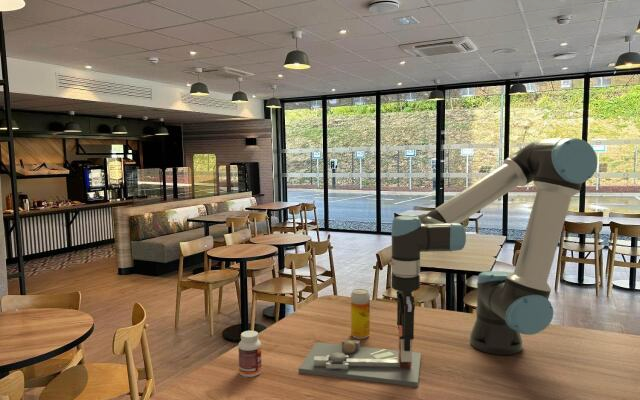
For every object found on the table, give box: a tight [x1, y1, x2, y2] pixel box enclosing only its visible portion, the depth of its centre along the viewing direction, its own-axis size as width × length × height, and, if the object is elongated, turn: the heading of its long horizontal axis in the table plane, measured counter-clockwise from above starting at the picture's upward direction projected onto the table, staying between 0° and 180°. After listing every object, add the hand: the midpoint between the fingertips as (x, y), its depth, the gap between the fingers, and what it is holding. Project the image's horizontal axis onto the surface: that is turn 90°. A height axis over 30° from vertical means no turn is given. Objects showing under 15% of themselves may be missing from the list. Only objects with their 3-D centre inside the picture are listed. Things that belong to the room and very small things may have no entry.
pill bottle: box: [237, 330, 263, 378], centre depth 129 cm, size 6×6×11 cm
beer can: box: [350, 288, 371, 340], centre depth 153 cm, size 6×6×15 cm
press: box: [298, 338, 422, 388], centre depth 133 cm, size 32×18×5 cm, turn 75°
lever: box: [314, 324, 412, 369], centre depth 129 cm, size 27×6×12 cm, turn 86°
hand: (404, 357), depth 129 cm, fingers closed on lever, 4 cm apart
